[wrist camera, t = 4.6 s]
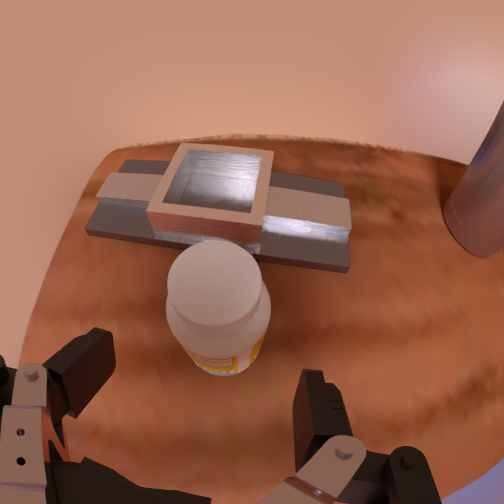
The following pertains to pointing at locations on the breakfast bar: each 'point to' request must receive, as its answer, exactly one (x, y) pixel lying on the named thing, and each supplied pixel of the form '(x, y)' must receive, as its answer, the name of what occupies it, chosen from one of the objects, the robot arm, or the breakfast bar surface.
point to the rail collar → (227, 207)
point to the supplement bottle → (218, 306)
